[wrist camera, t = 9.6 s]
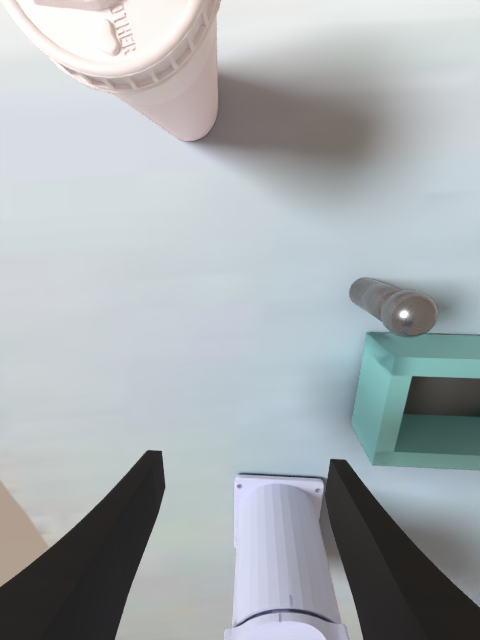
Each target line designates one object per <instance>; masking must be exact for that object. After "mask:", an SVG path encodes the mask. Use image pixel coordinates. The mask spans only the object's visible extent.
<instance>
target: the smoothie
mask: <svg viewBox="0 0 480 640" xmlns="http://www.w3.org/2000/svg"><path fill="white" fill-rule="evenodd" d="M1 1H2V3H3V5H4V6H5V8H6V9H7V11H8V13H9V14H10V15H11V17H12V18H13V20H14V21H15V22H16V24H17V25H18V26H19V27H20V29H21V30H22V31H23V32H24V33H25V34H26V36H27V37H28V38H29V39H30V40H31V41H32V42H33V43H34V44H35V45H36V46H38V47H39V48H40V49H41V50H42V51H43V52H44V53H45V54H46V55H47V56H48V57H49V58H50V59H51V60H52V61H53V62H54V63H55V64H56V65H57V66H58V67H59V68H60V69H61V70H62V71H63V72H65V73H66V74H68V75H69V76H71V77H73V78H74V79H76V80H77V81H79V82H81V83H82V84H84V85H85V86H87V87H89V88H93V89H96V90H100V91H103V92H107V93H110V94H113V95H115V96H117V97H118V98H119V99H121V100H122V101H124V102H125V103H127V104H128V105H129V106H131V107H132V108H134V109H135V110H136V111H138V112H139V113H141V114H142V115H144V116H145V117H146V118H148V119H149V120H151V121H152V122H154V123H155V124H156V125H158V126H159V127H161V128H162V129H164V130H165V131H166V132H168V133H169V134H171V135H172V136H174V137H175V138H177V139H179V140H182V141H195V140H198V139H200V138H202V137H204V136H205V135H206V134H207V133H208V132H209V131H210V130H211V128H212V127H213V125H214V123H215V121H216V118H217V113H218V71H217V12H218V10H219V7H220V1H221V0H1Z"/></svg>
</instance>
